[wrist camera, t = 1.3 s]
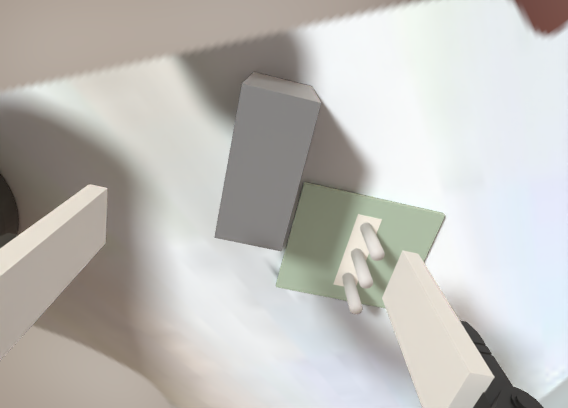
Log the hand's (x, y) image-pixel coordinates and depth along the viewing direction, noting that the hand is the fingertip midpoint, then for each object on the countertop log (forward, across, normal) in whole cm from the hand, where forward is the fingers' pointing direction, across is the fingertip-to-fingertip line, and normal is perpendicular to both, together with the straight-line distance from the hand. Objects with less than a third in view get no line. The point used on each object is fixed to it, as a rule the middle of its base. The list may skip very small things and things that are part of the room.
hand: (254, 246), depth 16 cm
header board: (+18, +11, -9) cm, 23 cm away
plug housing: (+18, 0, 0) cm, 18 cm away
